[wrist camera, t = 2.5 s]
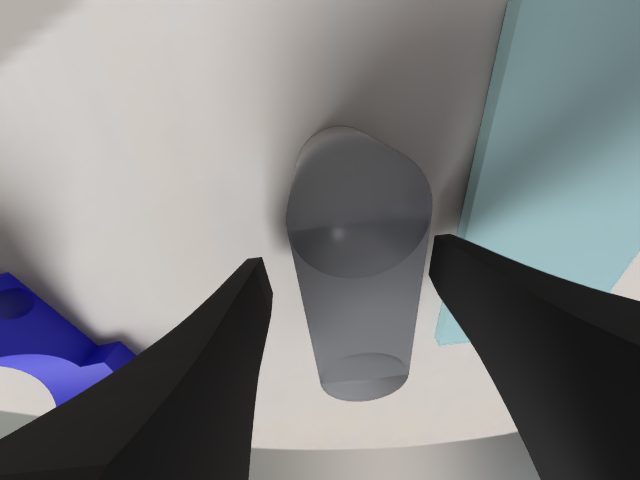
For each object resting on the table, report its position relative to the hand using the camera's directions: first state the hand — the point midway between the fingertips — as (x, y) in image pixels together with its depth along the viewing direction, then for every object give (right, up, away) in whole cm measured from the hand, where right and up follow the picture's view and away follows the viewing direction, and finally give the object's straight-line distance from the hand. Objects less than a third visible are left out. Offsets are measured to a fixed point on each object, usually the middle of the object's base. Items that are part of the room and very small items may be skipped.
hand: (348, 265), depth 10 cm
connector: (0, +1, +1) cm, 2 cm away
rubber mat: (+10, +2, +1) cm, 10 cm away
